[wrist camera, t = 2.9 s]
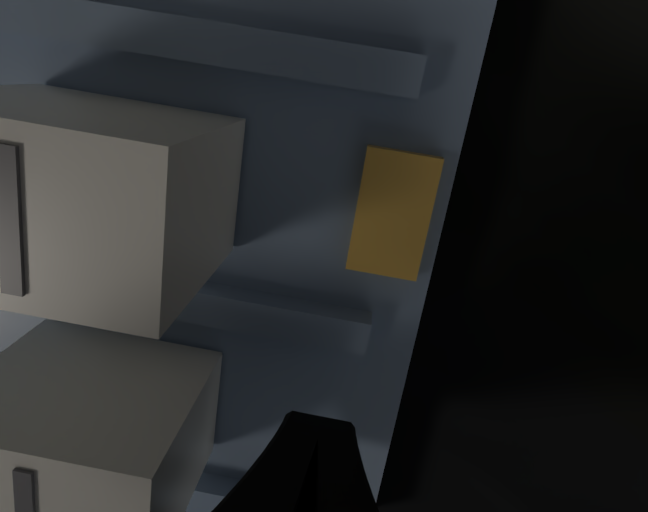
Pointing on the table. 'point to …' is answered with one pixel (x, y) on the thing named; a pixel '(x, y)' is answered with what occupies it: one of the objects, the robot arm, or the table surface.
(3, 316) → the switch bank
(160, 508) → the grey block
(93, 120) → the gray block
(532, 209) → the table surface
